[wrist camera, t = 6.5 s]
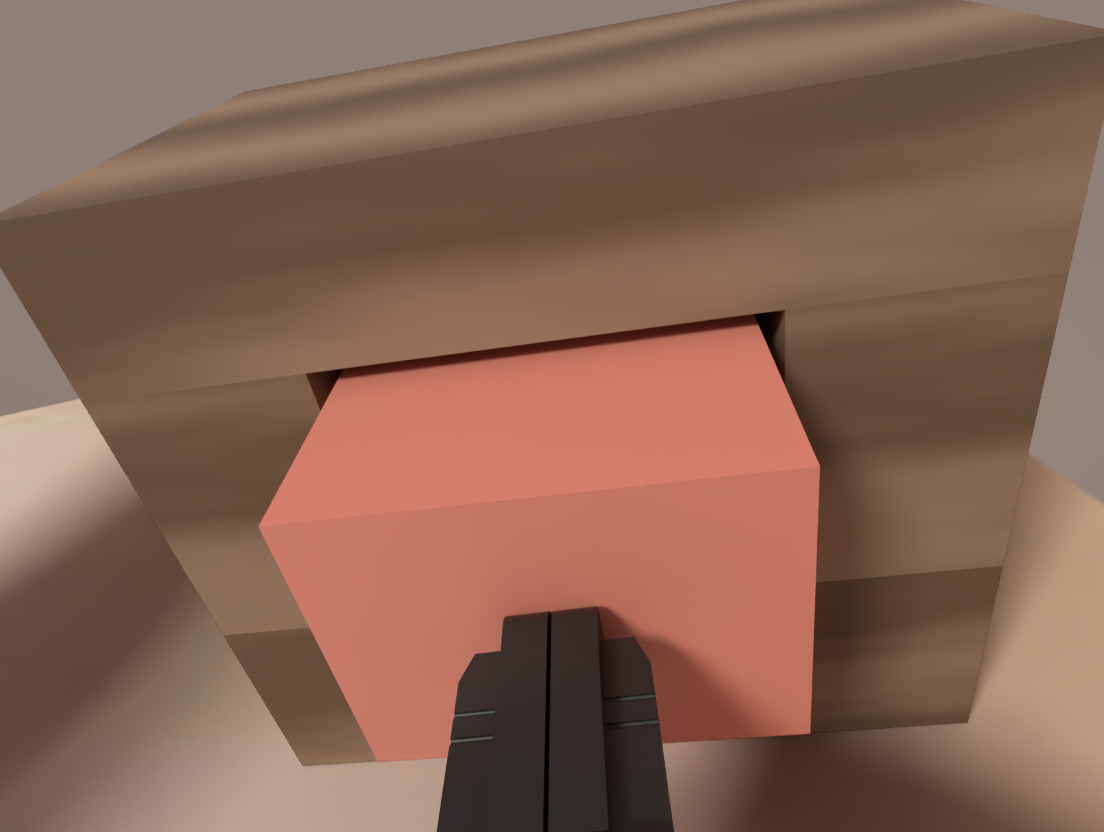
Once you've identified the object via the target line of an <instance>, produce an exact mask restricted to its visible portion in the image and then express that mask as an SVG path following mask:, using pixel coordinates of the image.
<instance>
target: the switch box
mask: <svg viewBox="0 0 1104 832" xmlns="http://www.w3.org/2000/svg"><path fill="white" fill-rule="evenodd" d="M1103 119H1104V29H1102V28H1097V27H1092V26H1087V25H1082V24H1077V23H1072V22H1067V21H1063V20H1058V19H1053V18H1048V17H1042V16H1038V15H1033V14H1028V13H1023V12H1018V11H1013V10H1008V9H1003V8H998V7H993V6H988V5H983V4H978V3H973V2H969V1H964V0H742V1H737V2H731V3H726V4H721V5H715V6H709V7H704V8H699V9H693V10H688V11H683V12H677V13H672V14H667V15H661V16H655V17H650V18H644V19H639V20H633V21H628V22H622V23H617V24H611V25H606V26H600V27H595V28H589V29H584V30H579V31H574V32H568V33H562V34H557V35H551V36H546V37H540V38H535V39H529V40H524V41H519V42H514V43H508V44H503V45H497V46H491V47H486V48H480V49H475V50H469V51H464V52H459V53H453V54H447V55H442V56H437V57H431V58H426V59H421V60H415V61H409V62H404V63H398V64H393V65H387V66H382V67H376V68H372V69H366V70H360V71H355V72H349V73H344V74H339V75H333V76H327V77H322V78H317V79H311V80H306V81H300V82H295V83H289V84H284V85H278V86H273V87H267V88H262V89H256V90H251V91H246V92H243V93H241V94H239V95H237V96H235V97H233V98H231V99H229V100H227V101H225V102H223V103H221V104H219V105H217V106H215V107H213V108H211V109H209V110H207V111H205V112H203V113H201V114H199V115H197V116H195V117H193V118H190V119H189V120H187V121H184V122H183V123H180V124H179V125H177V126H174V127H172V128H170V129H168V130H166V131H164V132H162V133H160V134H158V135H156V136H154V137H152V138H150V139H148V140H146V141H144V142H142V143H140V144H138V145H136V146H134V147H132V148H130V149H128V150H126V151H124V152H122V153H120V154H118V155H116V156H114V157H112V158H110V159H108V160H106V161H104V162H102V163H100V164H98V165H96V166H94V167H92V168H90V169H88V170H86V171H84V172H82V173H80V174H78V175H76V176H74V177H71V178H69V179H67V180H66V181H64V182H61V183H59V184H57V185H55V186H53V187H51V188H49V189H47V190H45V191H43V192H41V193H39V194H37V195H35V196H33V197H31V198H30V199H27V200H25V201H23V202H21V203H19V204H17V205H15V206H13V207H11V208H9V209H7V210H5V211H3V212H1V213H0V267H1V269H2V271H3V272H4V274H5V276H6V277H7V279H8V281H9V282H10V284H11V286H12V287H13V289H14V291H15V292H16V294H17V296H18V297H19V299H20V300H21V302H22V304H23V305H24V307H25V309H26V310H27V312H28V314H29V315H30V317H31V319H32V320H33V322H34V324H35V325H36V327H37V328H38V330H39V332H40V333H41V335H42V337H43V338H44V340H45V342H46V343H47V345H48V347H49V348H50V350H51V352H52V353H53V355H54V357H55V358H56V360H57V361H58V363H59V365H60V367H61V368H62V370H63V371H64V373H65V375H66V376H67V378H68V380H69V381H70V383H71V385H72V386H73V388H74V390H75V391H76V393H77V394H78V396H79V398H80V399H81V401H82V403H83V404H84V406H85V408H86V409H87V411H88V413H89V414H90V416H91V418H92V419H93V421H94V423H95V424H96V426H97V428H98V429H99V431H100V432H101V434H102V436H103V437H104V439H105V441H106V442H107V444H108V446H109V447H110V449H111V451H112V452H113V454H114V456H115V457H116V459H117V461H118V462H119V464H120V465H121V467H122V469H123V470H124V472H125V474H126V475H127V477H128V479H129V480H130V482H131V484H132V485H133V487H134V489H135V490H136V492H137V494H138V495H139V497H140V498H141V500H142V502H143V503H144V505H145V507H146V508H147V510H148V512H149V513H150V515H151V517H152V518H153V520H154V522H155V523H156V525H157V526H158V528H159V530H160V531H161V533H162V535H163V536H164V538H165V540H166V541H167V543H168V545H169V546H170V548H171V550H172V551H173V553H174V555H175V556H176V558H177V559H178V561H179V563H180V564H181V566H182V568H183V569H184V571H185V573H186V574H187V576H188V578H189V579H190V581H191V583H192V584H193V586H194V588H195V589H196V591H197V592H198V594H199V596H200V597H201V599H202V601H203V602H204V604H205V606H206V607H207V609H208V611H209V612H210V614H211V616H212V617H213V619H214V620H215V622H216V624H217V625H218V627H219V629H220V630H221V632H222V634H223V635H224V637H225V639H226V640H227V642H228V644H229V645H230V647H231V649H232V650H233V652H234V653H235V655H236V657H237V658H238V660H239V662H240V663H241V665H242V667H243V668H244V670H245V672H246V673H247V675H248V677H249V678H250V680H251V682H252V683H253V685H254V686H255V688H256V690H257V691H258V693H259V695H260V696H261V698H262V700H263V701H264V703H265V705H266V706H267V708H268V710H269V711H270V713H271V714H272V716H273V718H274V719H275V721H276V723H277V724H278V726H279V728H280V729H281V731H282V733H283V734H284V736H285V738H286V739H287V741H288V743H289V744H290V746H291V747H292V749H293V751H294V752H295V754H296V756H297V757H298V759H299V761H300V762H301V764H302V766H312V765H327V764H342V763H357V762H373V761H377V759H376V757H375V755H374V753H373V751H372V749H371V747H370V746H369V744H368V742H367V740H366V738H365V736H364V734H363V732H362V730H361V728H360V726H359V724H358V722H357V720H356V718H355V716H354V714H353V712H352V710H351V708H350V706H349V704H348V702H347V700H346V698H345V696H344V694H343V692H342V690H341V688H340V686H339V685H338V683H337V681H336V679H335V677H334V675H333V673H332V671H331V669H330V667H329V665H328V663H327V661H326V659H325V657H324V655H323V653H322V651H321V649H320V647H319V645H318V643H317V641H316V639H315V637H314V635H313V633H312V631H311V629H310V627H309V626H308V624H307V622H306V620H305V618H304V616H303V614H302V612H301V610H300V608H299V606H298V604H297V602H296V600H295V598H294V596H293V594H292V592H291V590H290V588H289V586H288V584H287V582H286V580H285V578H284V576H283V574H282V572H281V570H280V568H279V566H278V565H277V563H276V561H275V559H274V557H273V555H272V553H271V551H270V549H269V547H268V545H267V543H266V541H265V539H264V537H263V535H262V533H261V531H260V529H259V527H258V526H259V525H260V523H261V521H262V519H263V517H264V515H265V513H266V512H267V510H268V508H269V506H270V504H271V502H272V500H273V499H274V497H275V495H276V493H277V491H278V489H279V487H280V486H281V484H282V482H283V480H284V478H285V476H286V474H287V473H288V471H289V469H290V467H291V465H292V463H293V462H294V460H295V458H296V456H297V454H298V452H299V450H300V449H301V447H302V445H303V443H304V441H305V439H306V437H307V436H308V434H309V432H310V430H311V428H312V426H313V424H314V423H315V421H316V419H317V417H318V415H319V413H320V411H321V410H322V408H323V406H324V404H325V402H326V400H327V399H328V397H329V395H330V393H331V391H332V389H333V387H334V386H335V384H336V382H337V380H338V378H339V376H340V374H341V373H342V371H343V369H344V368H351V367H358V366H366V365H373V364H381V363H388V362H396V361H404V360H411V359H419V358H426V357H434V356H441V355H449V354H456V353H464V352H471V351H479V350H486V349H494V348H501V347H509V346H516V345H524V344H531V343H539V342H547V341H554V340H562V339H569V338H577V337H584V336H592V335H599V334H607V333H614V332H622V331H629V330H637V329H644V328H652V327H659V326H667V325H675V324H682V323H690V322H697V321H705V320H712V319H720V318H727V317H735V316H742V315H750V314H754V316H755V318H756V321H757V323H758V325H759V327H760V330H761V332H762V334H763V337H764V339H765V341H766V343H767V346H768V348H769V350H770V353H771V355H772V357H773V360H774V362H775V364H776V366H777V369H778V371H779V373H780V376H781V378H782V380H783V383H784V385H785V387H786V389H787V392H788V394H789V396H790V399H791V401H792V403H793V406H794V408H795V410H796V412H797V415H798V417H799V419H800V422H801V424H802V426H803V429H804V431H805V433H806V435H807V438H808V440H809V442H810V445H811V447H812V449H813V452H814V454H815V456H816V458H817V461H818V463H819V465H820V480H819V507H818V534H817V561H816V589H815V616H814V643H813V670H812V698H811V725H810V733H816V732H831V731H846V730H862V729H877V728H892V727H907V726H923V725H938V724H953V723H967V722H968V718H969V713H970V709H971V704H972V700H973V695H974V691H975V687H976V682H977V678H978V673H979V669H980V664H981V660H982V655H983V651H984V647H985V642H986V638H987V633H988V629H989V624H990V620H991V616H992V611H993V607H994V602H995V598H996V593H997V589H998V584H999V580H1000V576H1001V571H1002V567H1003V562H1004V558H1005V553H1006V549H1007V545H1008V540H1009V536H1010V531H1011V527H1012V522H1013V518H1014V514H1015V509H1016V505H1017V500H1018V496H1019V491H1020V487H1021V482H1022V478H1023V474H1024V469H1025V465H1026V460H1027V456H1028V451H1029V447H1030V442H1031V437H1032V434H1033V429H1034V425H1035V420H1036V416H1037V411H1038V407H1039V403H1040V398H1041V394H1042V389H1043V384H1044V380H1045V376H1046V371H1047V367H1048V363H1049V358H1050V354H1051V349H1052V345H1053V340H1054V336H1055V332H1056V327H1057V322H1058V318H1059V314H1060V309H1061V305H1062V301H1063V296H1064V292H1065V287H1066V283H1067V278H1068V273H1069V270H1070V265H1071V261H1072V256H1073V252H1074V247H1075V243H1076V238H1077V234H1078V230H1079V225H1080V221H1081V216H1082V212H1083V207H1084V203H1085V198H1086V194H1087V190H1088V185H1089V181H1090V176H1091V172H1092V167H1093V163H1094V159H1095V154H1096V150H1097V145H1098V141H1099V136H1100V132H1101V127H1102V123H1103Z"/></svg>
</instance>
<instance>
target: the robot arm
mask: <svg viewBox="0 0 1104 832" xmlns="http://www.w3.org/2000/svg"><path fill="white" fill-rule="evenodd" d="M454 716H455V717H454V719H453V723H452V730H451V737H450V739H451V745H449V751H448V758H447V765H446V772H445V779H444V786H443V792H442V799H441V806H440V813H439V820H438V827H437V832H674V829H673V821H672V814H671V806H670V799H669V791H668V783H667V776H666V768H665V761H664V753H663V745H662V738H661V730H660V723H659V716H658V709H657V702H656V695H655V688H654V681H653V674H652V667H651V662H650V660H649V659H648V657H647V656H646V654H645V653H644V651H643V650H642V648H641V647H640V645H639V644H638V642H637V641H636V639H635V638H634V637H626V638H617V639H607V640H604V636H603V630H602V625H601V620H600V615H599V610H598V607H597V606H593V607H584V608H575V609H567V610H558V611H553V612H552V615H551V612H550V611H547V612H538V613H530V614H521V615H512V616H505V618H504V621H503V628H502V639H501V650H500V651H496V652H487V653H477V654H475V655H474V657H473V658H472V660H471V662H470V663H469V665H468V667H467V668H466V670H465V672H464V674H463V675H462V677H461V679H460V680H459V682H458V689H457V696H456V703H455V710H454Z"/></svg>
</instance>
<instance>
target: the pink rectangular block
mask: <svg viewBox="0 0 1104 832" xmlns="http://www.w3.org/2000/svg"><path fill="white" fill-rule="evenodd" d="M819 480H820V465H819V463H818V461H817V458H816V456H815V454H814V452H813V449H812V447H811V445H810V442H809V440H808V438H807V435H806V433H805V431H804V429H803V426H802V424H801V422H800V419H799V417H798V415H797V412H796V410H795V408H794V406H793V403H792V401H791V399H790V396H789V394H788V392H787V389H786V387H785V385H784V383H783V380H782V378H781V376H780V373H779V371H778V369H777V366H776V364H775V362H774V360H773V357H772V355H771V353H770V350H769V348H768V346H767V343H766V341H765V339H764V337H763V334H762V332H761V330H760V327H759V325H758V323H757V321H756V318H755V316H754V314H750V315H742V316H735V317H727V318H720V319H712V320H705V321H697V322H690V323H682V324H675V325H667V326H659V327H652V328H644V329H637V330H629V331H622V332H614V333H607V334H599V335H592V336H584V337H577V338H569V339H562V340H554V341H547V342H539V343H531V344H524V345H516V346H509V347H501V348H494V349H486V350H479V351H471V352H464V353H456V354H449V355H441V356H434V357H426V358H419V359H411V360H404V361H396V362H388V363H381V364H373V365H366V366H358V367H351V368H344V369H343V371H342V373H341V374H340V376H339V378H338V380H337V382H336V384H335V386H334V387H333V389H332V391H331V393H330V395H329V397H328V399H327V400H326V402H325V404H324V406H323V408H322V410H321V411H320V413H319V415H318V417H317V419H316V421H315V423H314V424H313V426H312V428H311V430H310V432H309V434H308V436H307V437H306V439H305V441H304V443H303V445H302V447H301V449H300V450H299V452H298V454H297V456H296V458H295V460H294V462H293V463H292V465H291V467H290V469H289V471H288V473H287V474H286V476H285V478H284V480H283V482H282V484H281V486H280V487H279V489H278V491H277V493H276V495H275V497H274V499H273V500H272V502H271V504H270V506H269V508H268V510H267V512H266V513H265V515H264V517H263V519H262V521H261V523H260V525H259V526H258V527H259V529H260V531H261V533H262V535H263V537H264V539H265V541H266V543H267V545H268V547H269V549H270V551H271V553H272V555H273V557H274V559H275V561H276V563H277V565H278V566H279V568H280V570H281V572H282V574H283V576H284V578H285V580H286V582H287V584H288V586H289V588H290V590H291V592H292V594H293V596H294V598H295V600H296V602H297V604H298V606H299V608H300V610H301V612H302V614H303V616H304V618H305V620H306V622H307V624H308V626H309V627H310V629H311V631H312V633H313V635H314V637H315V639H316V641H317V643H318V645H319V647H320V649H321V651H322V653H323V655H324V657H325V659H326V661H327V663H328V665H329V667H330V669H331V671H332V673H333V675H334V677H335V679H336V681H337V683H338V685H339V686H340V688H341V690H342V692H343V694H344V696H345V698H346V700H347V702H348V704H349V706H350V708H351V710H352V712H353V714H354V716H355V718H356V720H357V722H358V724H359V726H360V728H361V730H362V732H363V734H364V736H365V738H366V740H367V742H368V744H369V746H370V747H371V749H372V751H373V753H374V755H375V757H376V759H377V761H378V762H384V761H399V760H414V759H430V758H445V757H448V751H449V745H451V739H450V737H451V730H452V723H453V719H454V717H455V716H454V710H455V703H456V696H457V689H458V682H459V680H460V679H461V677H462V675H463V674H464V672H465V670H466V668H467V667H468V665H469V663H470V662H471V660H472V658H473V657H474V655H475V654H477V653H487V652H496V651H500V650H501V639H502V628H503V621H504V618H505V616H512V615H521V614H530V613H538V612H547V611H550V612H551V615H552V612H553V611H558V610H567V609H575V608H584V607H593V606H597V607H598V610H599V615H600V620H601V625H602V630H603V636H604V640H607V639H617V638H626V637H634V638H635V639H636V641H637V642H638V644H639V645H640V647H641V648H642V650H643V651H644V653H645V654H646V656H647V657H648V659H649V660H650V662H651V667H652V674H653V681H654V688H655V695H656V702H657V709H658V716H659V723H660V730H661V738H662V743H675V742H690V741H705V740H721V739H736V738H751V737H766V736H782V735H797V734H810V725H811V698H812V670H813V643H814V616H815V589H816V561H817V534H818V507H819Z"/></svg>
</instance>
